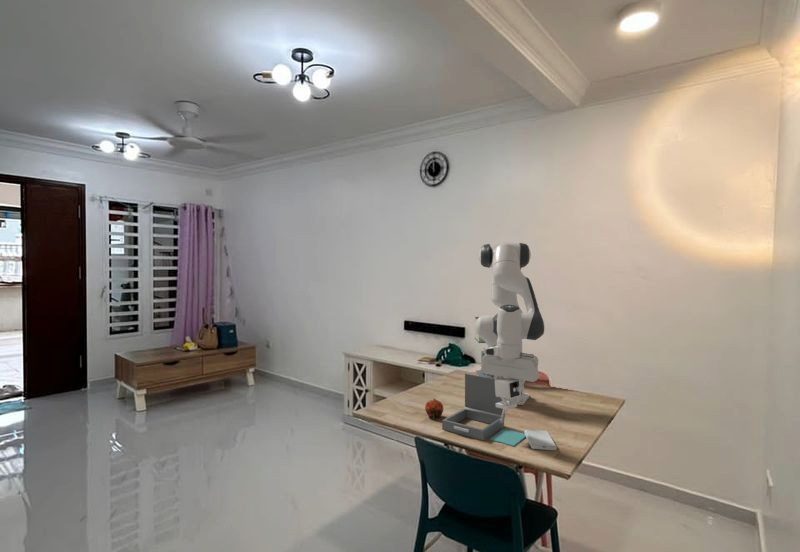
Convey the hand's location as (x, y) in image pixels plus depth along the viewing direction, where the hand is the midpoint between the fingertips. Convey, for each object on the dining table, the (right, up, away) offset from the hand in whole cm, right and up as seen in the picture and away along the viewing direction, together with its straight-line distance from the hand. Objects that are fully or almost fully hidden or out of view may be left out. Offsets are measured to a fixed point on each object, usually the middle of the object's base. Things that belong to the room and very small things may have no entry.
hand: (509, 389), depth 152 cm
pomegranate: (-25, -17, +21) cm, 37 cm away
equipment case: (-11, -17, +10) cm, 23 cm away
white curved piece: (+12, -15, +81) cm, 84 cm away
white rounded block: (0, -6, 0) cm, 6 cm away
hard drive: (+10, -17, -4) cm, 20 cm away
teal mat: (0, -17, 0) cm, 17 cm away
